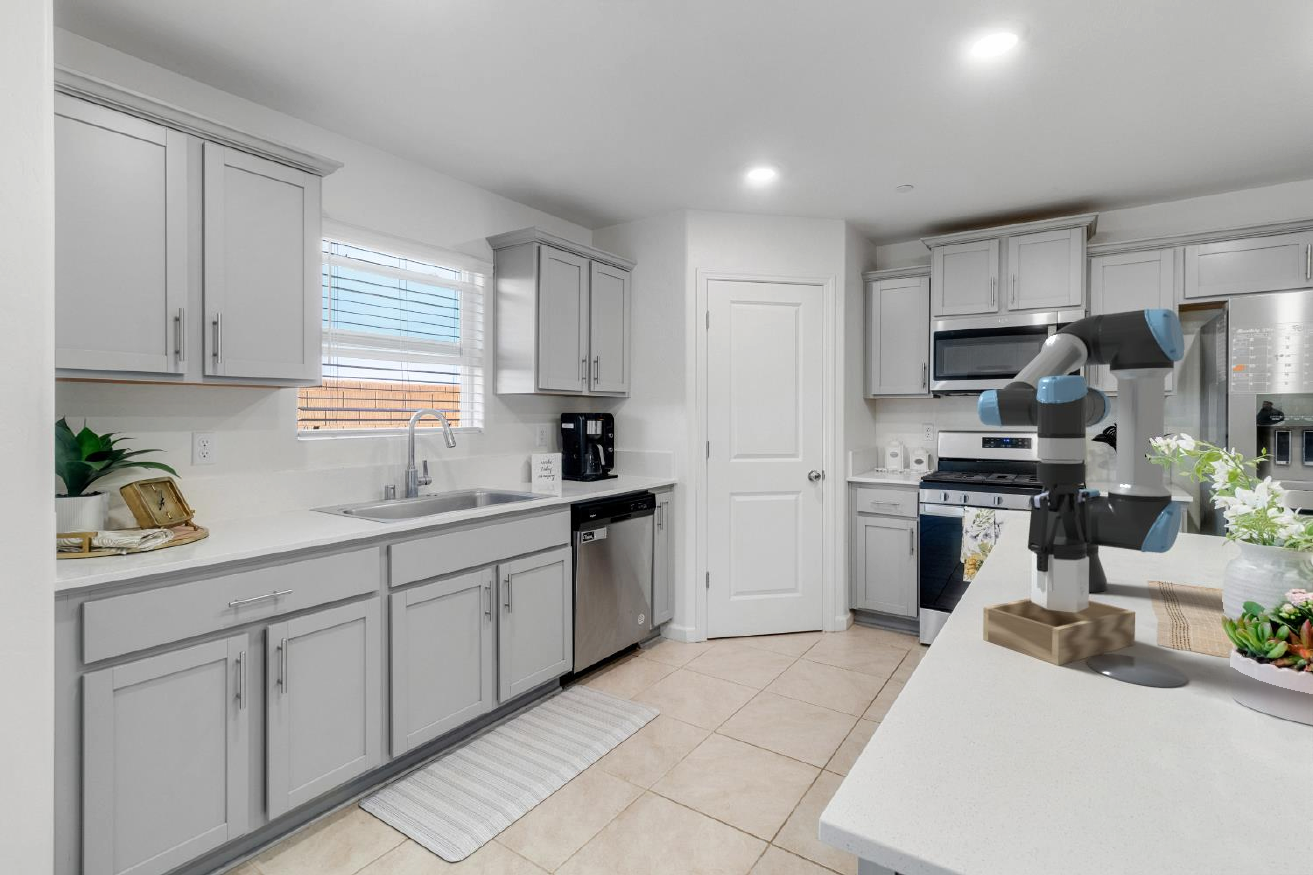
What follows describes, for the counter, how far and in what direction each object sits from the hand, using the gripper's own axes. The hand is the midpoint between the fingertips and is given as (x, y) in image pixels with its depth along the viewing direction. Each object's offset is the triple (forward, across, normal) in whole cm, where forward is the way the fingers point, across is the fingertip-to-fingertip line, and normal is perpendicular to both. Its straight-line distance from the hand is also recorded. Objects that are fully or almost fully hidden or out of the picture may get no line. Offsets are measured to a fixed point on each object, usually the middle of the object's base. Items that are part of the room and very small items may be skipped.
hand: (1059, 585), depth 119 cm
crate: (+10, 0, 0) cm, 10 cm away
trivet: (+10, +2, +14) cm, 18 cm away
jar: (+4, 0, 0) cm, 4 cm away
